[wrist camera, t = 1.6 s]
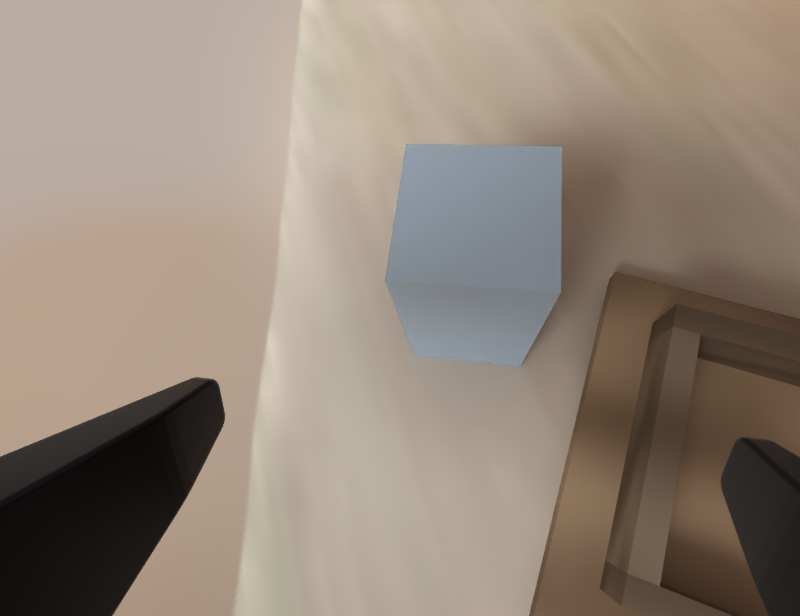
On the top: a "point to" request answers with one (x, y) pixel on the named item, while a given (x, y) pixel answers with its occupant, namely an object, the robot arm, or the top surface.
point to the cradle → (666, 455)
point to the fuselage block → (476, 249)
